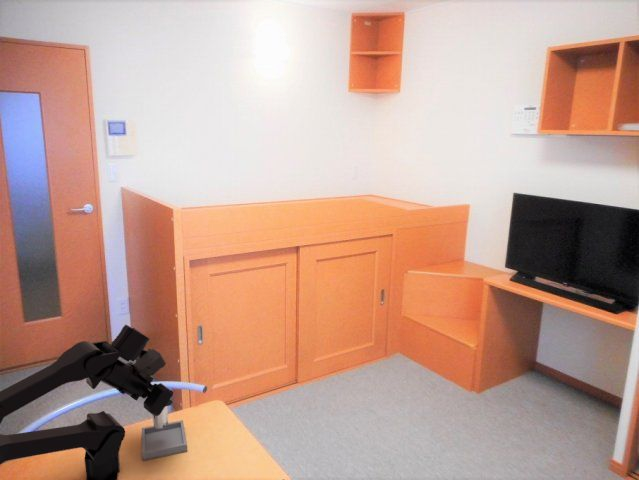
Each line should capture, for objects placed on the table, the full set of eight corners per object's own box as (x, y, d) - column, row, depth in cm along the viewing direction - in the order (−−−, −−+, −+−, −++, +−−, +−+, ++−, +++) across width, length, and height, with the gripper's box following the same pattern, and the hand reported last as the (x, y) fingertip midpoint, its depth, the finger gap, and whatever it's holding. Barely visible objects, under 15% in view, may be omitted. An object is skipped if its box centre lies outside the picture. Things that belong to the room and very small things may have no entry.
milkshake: (173, 429, 117) (172, 393, 114) (150, 432, 115) (149, 396, 113) (173, 418, 121) (172, 383, 118) (151, 421, 119) (150, 386, 117)
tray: (142, 461, 113) (142, 453, 112) (142, 434, 122) (141, 428, 122) (187, 451, 117) (186, 444, 116) (183, 426, 126) (182, 420, 126)
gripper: (163, 358, 104) (206, 384, 114) (124, 332, 116) (166, 358, 126) (131, 404, 100) (179, 427, 110) (94, 372, 112) (140, 396, 122)
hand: (166, 399), depth 118 cm, fingers closed on milkshake, 4 cm apart
